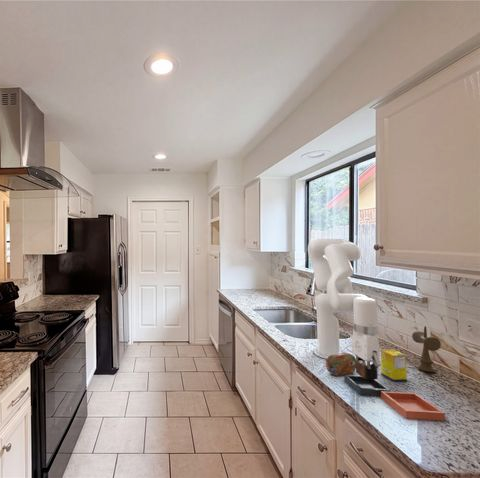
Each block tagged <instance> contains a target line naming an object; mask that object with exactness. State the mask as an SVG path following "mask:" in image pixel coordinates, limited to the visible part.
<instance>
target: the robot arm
mask: <svg viewBox="0 0 480 478" xmlns="http://www.w3.org/2000/svg"><path fill="white" fill-rule="evenodd" d="M307 253H308V257H309V259H310V262H311V265H312V268H313V276H314V283H315V286H316V288H317V290H318V291H323V292H326V293H319V294H317V295H315V297H314V306H315V310H316V326H317V327H316V329H317V331H316V334H317V335H316V337H317V343H316V345H317V348H315V349H314V350H313V352H314V355H316V356H317V357H319V358H322V359H325V360H327V358H328V357H329V356H330V355H335V354H340V353H341V351H340V322H339V319H338V318H337V316H335V314H351V313H353V330H352V336H351V352H352V354H354V356H355V358H356V360H365V361H367V367H368V368H366V372H367V378H368V379H376V369H378V368H379V367H381V362H380V360H381V350H380V344H379V343H380V342H379V337H378V334H379V333H378V331H379V330H378V303H377V301H376V299H374V298H371V297H368V296H366V295H365V294H361V293H354V289H353V284H352V280H351V277H352V276H353V275H354V273H355V270H354V268H353V266H352V263H351V262H355V261H358V260H360V258H361V255H362V254H361V253H362V252H361V249H360V247H359V246H358V245H357V244H356V243H354V242H352V241H349V240H347V239H345V238H344V239H343V238H318V239H313V240H310V241H309V243H308V244H307ZM370 362H372V363H373V364H371V365H370ZM376 380H377V379H376Z"/></svg>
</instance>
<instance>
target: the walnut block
mask: <svg viewBox="0 0 480 478" xmlns="http://www.w3.org/2000/svg"><path fill="white" fill-rule="evenodd" d="M371 364H373V362H370V365H371ZM366 368H368V367H367V361H365V360H356V369H355V373H356V374H357V375H358V376H361V377H363V378H365V379H368V378H367V372H366ZM378 370H379V369H378V368H377V369H376V380H378V379H379V377H378V376H379V373H378Z"/></svg>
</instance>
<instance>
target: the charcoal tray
mask: <svg viewBox="0 0 480 478" xmlns="http://www.w3.org/2000/svg"><path fill="white" fill-rule="evenodd" d="M343 377H344V382H345V383H346V384H347V385H348V386H350V387H351V388H352V390H354V391H355V392H356V393H357V394H358V395H359V396H364V397H365V396H366V397H381V391H387V392H392V390H391V389H389V388H388V387H387V386H385V385H384V384H383V383H382V382H380V381H379V380H378V379H365V378H363V377H361V376H360V375H356V374H355V375H354V374H353V375H352V374H345V375H343Z"/></svg>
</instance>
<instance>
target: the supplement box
mask: <svg viewBox="0 0 480 478" xmlns="http://www.w3.org/2000/svg"><path fill="white" fill-rule="evenodd" d="M380 360H381V362H380V363H381V366H380V367H381V376H383V377H385V378H387V379H389V380H391V381H393V382H405V381H406V382H407V380H408V378H407V377H408V376H407V375H408V374H407V354H405V353H403V352H401V351H398V350H396V349H380Z"/></svg>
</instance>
